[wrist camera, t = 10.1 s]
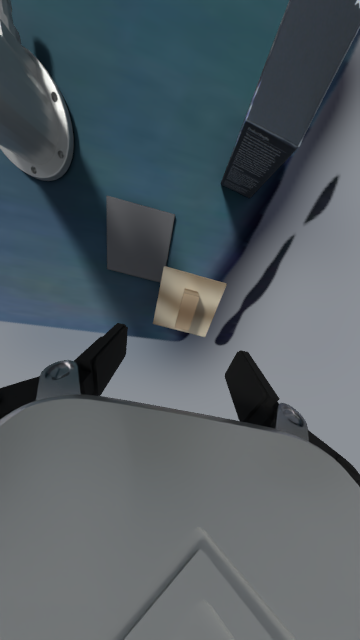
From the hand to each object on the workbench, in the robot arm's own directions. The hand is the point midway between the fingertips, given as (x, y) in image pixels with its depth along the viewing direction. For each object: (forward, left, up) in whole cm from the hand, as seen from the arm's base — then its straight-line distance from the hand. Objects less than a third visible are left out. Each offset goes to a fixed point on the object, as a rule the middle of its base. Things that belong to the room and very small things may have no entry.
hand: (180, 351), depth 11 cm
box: (-23, +4, -20) cm, 30 cm away
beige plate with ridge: (0, 0, -15) cm, 15 cm away
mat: (-8, -11, -20) cm, 24 cm away
